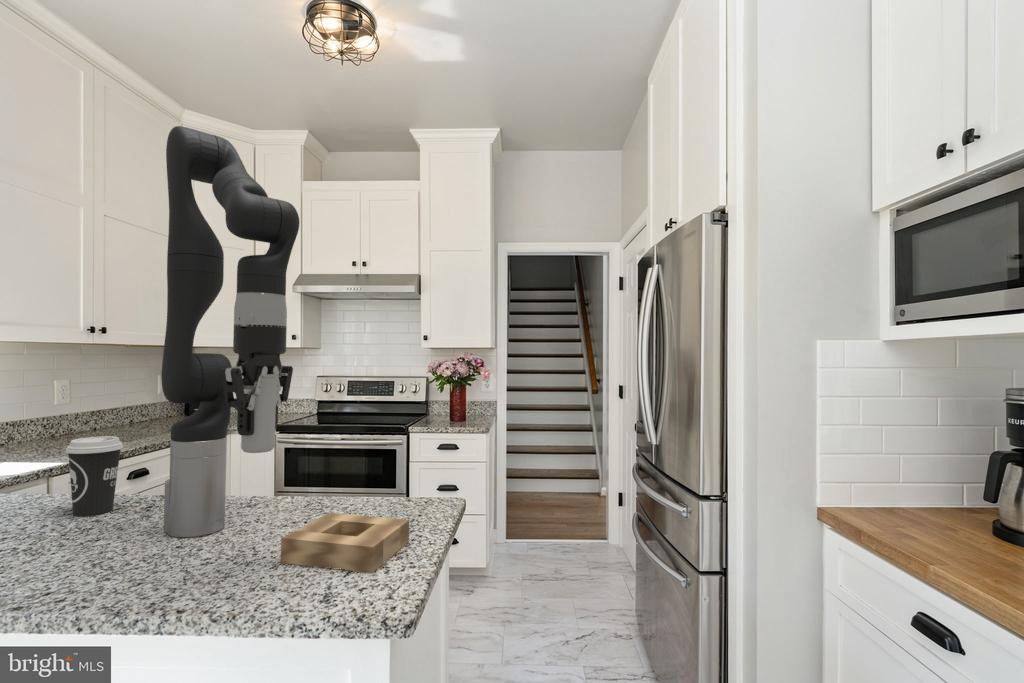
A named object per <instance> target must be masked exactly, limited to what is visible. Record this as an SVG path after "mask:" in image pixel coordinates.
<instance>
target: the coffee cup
mask: <svg viewBox="0 0 1024 683" xmlns="http://www.w3.org/2000/svg"><path fill="white" fill-rule="evenodd" d="M122 449H124V444H123V443H122V441H120V437H118V436H112V435H111V436H109V435H108V436H89V437H81V438H76V439H72V440H70V443H69V445H67V447H66V448H65V453H66V454H67V455H68V464H69V465H68V467H69V477H70V478H69V480H70V490H71V502H72V515H73V517H80V518H81V517H83V518H84V517H93V516H94V517H95V516H99V515H104V514H108V513H110V512H111V511H113V509H114V502H115V495H116V494H115V493H116V488H117V487H116V486H117V485H116V484H117V480H118V478H117V477H118V471H119V464H120V458H121V457H120V455H121V450H122Z"/></svg>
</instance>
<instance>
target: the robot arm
mask: <svg viewBox="0 0 1024 683" xmlns="http://www.w3.org/2000/svg"><path fill="white" fill-rule="evenodd" d="M165 147H166V149H165V151H166V152H165V154H166V155H165V156H166V159H165V161H166V176H167V177H166V178H167V194H168V237H167V238H168V239H167V252H166V253H167V257H166V258H167V260H166V280H167V281H166V282H167V283H166V284H167V286H166V288H167V290H166V291H167V298H166V299H167V304H166V305H167V306H166V310H167V311H166V312H167V313H166V327H165V334H164V344H163V354H162V362H161V363H162V364H161V374H160V376H161V378H160V379H161V380H160V381H161V388H162V392H163V396H164V397H165V399H166V400H167V401H168V402H170V403H172V404H190V403H191V404H192V403H199V406H198V408H197V410H196V411H194V412H193V413H192V414H191V415H189V416H187V417H186V418H184V419H180V420H178V421H177V422H175V423H173V425H171V428H170V442H169V443H170V448H169V450H170V451H169V453H170V454H169V479H166V480H165V482H164V498H163V499H164V500H163V502H164V503H163V533H168V535H169V536H171V537H175V538H176V537H177V538H190V537H191V538H192V537H193V538H194V537H200V536H205V535H209V534H213V533H216V532H218V531H220V530H222V529H223V528H225V525H226V524H225V523H226V522H225V521H226V487H227V486H226V484H227V481H226V480H227V450H228V449H227V444H228V443H227V442H228V441H227V440H228V439H227V438H228V437H227V435H228V427H229V424H230V421H231V413H232V412H231V411H232V408H234V409H235V410H236V411H237V420H236V421H237V423H236V424H237V425H236V427H237V428H236V430H237V433H238V435H239V436H241V435H245V436H249V435H253V433H254V411H251V410H253V408H254V405H255V401H256V397H257V396H259V395H260V393H261V382H260V381H261V379H262V378H264V377H266V376H265V374H276V375H275V377H276V416H275V431H276V430H277V429H278V424H279V423H278V422H279V419H278V418H279V407H280V406H281V405H282V403H283V402H287V401H288V400H289V394H290V388H291V382H292V378H293V377H292V376H293V372H294V371H293V370H294V367H293V366H291V365H283V364H282V361H281V358H280V357H281V355H284V354H285V353H286V351H287V331H288V330H287V329H288V327H287V319H288V308H287V306H288V305H287V301H286V300H287V298H286V295H287V293H286V292H287V271H288V265H289V262H290V259H291V254H292V252H293V248H294V245H295V241H296V239H297V236H298V233H299V229H300V217H299V213H298V211H297V209H296V207H295V206H294V205H293V204H292V203H290V202H288V201H286V200H282V199H278V198H272V197H269V196H268V194H267V192H266V190H265V189H264V188H263V187H262V186H261V185H260V183H258V182H257V181H256V180H255V179H254V178H253V177H252V176H251V175H250V174H249V173H248V171H247V170H246V169H247V168H246V167H245V165H244V162H243V160H242V159H241V157H240V155H239V153H238V151H237V149H236V148H235V146H234V145H233V143H231V142H230V141H229V140H227V139H226V138H224V137H222V136H219V135H216V134H212V133H208V132H204V131H201V130H198V129H194V128H191V127H185V126H182V125H177V126H174V127H172V128H171V129H170V131H169V133H168V137H167V140H166V146H165ZM192 181H195V182H200V183H205V184H210V185H212V186H211V188H212V189H211V190H212V193H213V196H214V198H215V199H216V201H217V203H219V205H220V206H221V207H222V208H223V210H224V211H225V212H224V213H225V224H226V228H227V229H228V231H229V232H230V233H231V234H232V235H234V236H235V237H238V238H240V239H242V240H243V239H244V240H248V241H256V242H261V243H262V242H263V243H267V244H269V247H268V249H267V251H266V253H265V254H253V255H252V254H251V255H245V256H243V257H240V258H239V259H238V262H237V268H236V293H235V295H236V296H235V303H234V307H233V308H234V309H233V311H234V312H233V341H232V342H233V344H232V345H233V346H232V347H233V348H232V349H233V350H232V351H233V352H234V353H235V354H237V355H238V358H237V361H236V364H235V366H232V364H231V361H230V360H229V358H228V357H227V356H226V355H224V354H222V353H213V352H212V353H208V352H204V353H203V352H202V353H197V352H196V353H195V352H194V353H193V351H194V349H193V348H194V340H195V337H196V336H195V335H196V331H197V328H198V325H199V324H200V322H201V320H202V319H203V317H204V316H205V314H206V312H208V310H209V308H210V307H211V306H212V305H213V303H214V301H215V300H216V299H217V297H218V296H219V295H220V292H221V291H222V288H223V286H224V275H225V273H224V270H225V269H224V266H225V262H224V260H225V256H224V255H225V254H224V250H223V247H222V244H221V242H220V240H219V238H218V237H217V235H216V233H215V231H213V229H212V227H211V226H210V224H209V223H208V221H207V219H206V218H205V216H204V215H203V213H202V211H201V209H200V207H199V206H198V203H197V201H196V197H195V194H194V193H195V192H194V189H193V183H192ZM243 383H244V385H245V386H254V387H253V388H252V389H244V387H243ZM280 392H281V393H280ZM234 394H235V397H234ZM245 395H249V396H248V400H247V401H246V400H245Z"/></svg>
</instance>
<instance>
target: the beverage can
mask: <svg viewBox="0 0 1024 683" xmlns="http://www.w3.org/2000/svg"><path fill="white" fill-rule="evenodd" d="M275 375H276V374H265V376H266V377H264V378H262V379H261V381H260V382H261V393H260V395H259V396H257V397H256V401H255V405H254V408H253V410H251V411H254V433H253V435H249V436H245V435H240V440H241V441H240V442H241V443H240V445H241V447H240V449H241V451H243V452H244V453H246V454H261V453H268V452H272V450H274V448H275V446H276V430H275V416H276V377H275ZM243 387H244V389H252V388H253V387H254V386H245V385H244V383H243ZM248 396H249V395H245V400H246V401H247V400H248Z"/></svg>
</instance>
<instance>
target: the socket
mask: <svg viewBox="0 0 1024 683" xmlns="http://www.w3.org/2000/svg"><path fill="white" fill-rule="evenodd" d="M408 543H410V519H406V518H396V517H395V518H394V517H381V516H369V515H359V514H347V513H336V512H335V513H334V512H328V513H326V514H324V515H321V516H320V517H318V518H316V519H314V520H312V521H310V522H309V523H307V524H304V525H302V526H300V527H299V528H297V529H295V530H294V531H291V532H290V533H288V534H285V535H284V536H282V537H280V564H285V563H286V564H288V565H294V564H295V566H303V565H308V566H307V567H312V566H317V567H316V568H321V567H328V568H327V569H330V568H339V569H340V568H341V569H346V570H345V571H348V570H354V571H353V572H357V571H361V572H360V573H366V572H369V573H368V574H373V573H374V572H376V571H377V570H378V569H379V568H380V567H381V566H383V565H384V564H385V563H386V562H387V561H389V560H390V559H391V558H392V557H393V556H394V555H395V553H396V552H397V551H398V552H399V551H401V549H403V548H404V547H405V546H406V545H408ZM402 547H403V548H402ZM398 552H397V553H398ZM391 556H392V557H391ZM390 557H391V558H390ZM389 558H390V559H389ZM384 562H385V563H384ZM383 563H384V564H383ZM382 564H383V565H382ZM329 567H330V568H329ZM339 569H338V570H339ZM376 569H377V570H376Z"/></svg>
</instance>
